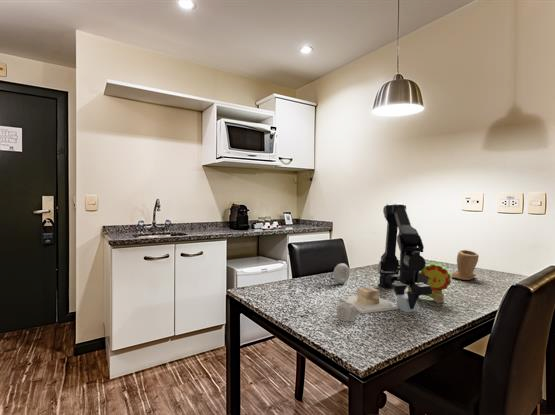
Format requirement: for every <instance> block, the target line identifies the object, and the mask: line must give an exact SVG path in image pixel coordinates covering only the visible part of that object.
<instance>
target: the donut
mask: <svg viewBox="0 0 555 415" xmlns="http://www.w3.org/2000/svg"><path fill="white" fill-rule="evenodd" d="M341 273H342V275H341ZM350 276H351V273H350V268H349V266H348V265H347V264H346V263H342V262H341V263H337V265H336V266H334V269H333V273H332V277H333V280H334V281H335V282H336V283H337V284H340V285H343V284H345V283H347V281H348V280H349V278H350Z"/></svg>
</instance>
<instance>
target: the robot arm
mask: <svg viewBox="0 0 555 415" xmlns="http://www.w3.org/2000/svg"><path fill="white" fill-rule="evenodd" d="M408 215H409V214H408V213H407V206H406V204H404V203H392V204H391V203H390V204H389V203H387V204H386V205H385V206H383V216H384V219H385V221H386V222H387V223H386V224H387V225H386V236H385V247H384V248H385V250H384V252H383V254H382V255H381V256H380V261H379V263H378V266H377V273H378V274H379V279H378V280H379V283H377V286H379V287H382V288H384V289H393V291H394V293H395V295H396V296H397V295H400V294H407V295H408V301H409V306H410V309H414V306H415V304H416V302H417V303H418V299H419V298H420V297H421V296H425V295H428V294H432V288H431V286H429V285H427V283H428V280H429V276H426V275H423V274H421V273H419V272H421V270H423V269H424V268H425V266H426V265H427V264H426V259H425V258H424V257H423V256H422V255H421V253H423V252H424V248H425V247H424V244H423V240H422V238H421V236H420V235H419V232H418V231H417V229H416V228H414V227H413V226H412V225H411V220H410V218H409V216H408ZM397 246H398V248H399V251H400V252H399V259H398V257H397V255H396V252H397V251H396V250H397ZM424 283H425V284H424ZM409 284H410V285H409ZM408 287H410V288H411V291H408V290H407V291H406V289H407V288H408ZM405 292H406V293H405Z"/></svg>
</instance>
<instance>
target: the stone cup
mask: <svg viewBox="0 0 555 415" xmlns="http://www.w3.org/2000/svg"><path fill="white" fill-rule="evenodd" d="M479 257H480V256H479V253H477V252H475V251H472V250H470V249H469V250H468V249H461V250H459V251H458V253H457V256H456V264H457V270H456V271H455V272H452V273H450V275H451V277H452V278H455V279H458V280H464V281H469V280H472V279H475V277H476V276H477V273H475V272H474V270H475V268H476V266H477V264H478V262H479Z"/></svg>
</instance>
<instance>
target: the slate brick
mask: <svg viewBox="0 0 555 415" xmlns="http://www.w3.org/2000/svg"><path fill="white" fill-rule="evenodd" d="M396 306H398V309H397V310H400V311H403V312H404V313H412V312H417V311H418V301H417V302H416V304H415V306H414V309H410V306H409V301H408V295H407V293H404V294H400V295H396Z"/></svg>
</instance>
